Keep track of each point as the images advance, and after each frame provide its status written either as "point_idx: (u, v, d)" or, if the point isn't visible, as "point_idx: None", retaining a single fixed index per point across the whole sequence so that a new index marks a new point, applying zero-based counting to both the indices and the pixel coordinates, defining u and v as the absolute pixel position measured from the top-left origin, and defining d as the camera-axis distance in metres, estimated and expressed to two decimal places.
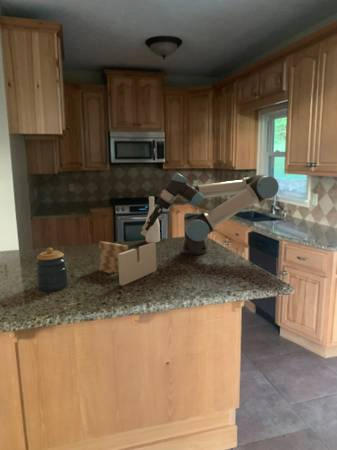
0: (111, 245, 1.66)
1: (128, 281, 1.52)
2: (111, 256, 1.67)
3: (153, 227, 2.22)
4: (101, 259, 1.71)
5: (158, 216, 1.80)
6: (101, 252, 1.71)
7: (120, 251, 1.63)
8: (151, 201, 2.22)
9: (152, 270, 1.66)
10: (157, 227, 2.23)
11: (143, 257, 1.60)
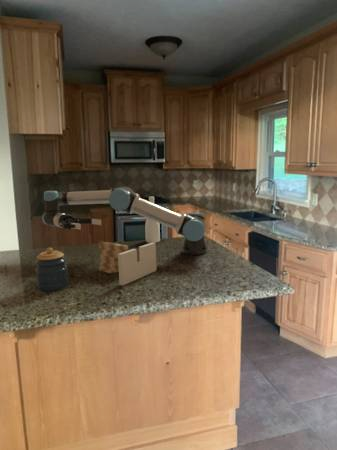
0: (111, 245, 1.66)
1: (128, 281, 1.52)
2: (111, 256, 1.67)
3: (153, 227, 2.22)
4: (101, 259, 1.71)
5: (69, 220, 1.77)
6: (101, 252, 1.71)
7: (120, 251, 1.63)
8: (151, 201, 2.22)
9: (152, 270, 1.66)
10: (157, 227, 2.23)
11: (143, 257, 1.60)
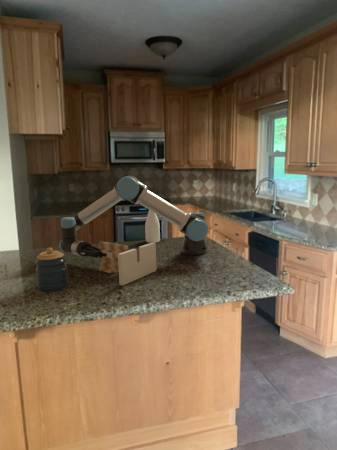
0: (111, 245, 1.65)
1: (128, 281, 1.52)
2: None
3: (153, 227, 2.22)
4: (101, 259, 1.71)
5: (92, 248, 1.73)
6: None
7: (120, 251, 1.63)
8: None
9: (152, 270, 1.66)
10: (157, 227, 2.23)
11: (143, 257, 1.60)
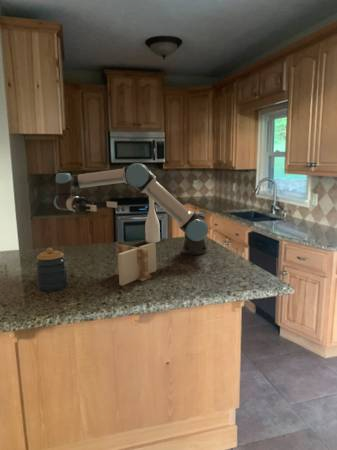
0: (129, 248, 1.59)
1: (128, 281, 1.52)
2: None
3: (153, 227, 2.22)
4: None
5: (83, 202, 1.68)
6: None
7: (139, 255, 1.56)
8: (151, 201, 2.22)
9: (152, 270, 1.66)
10: (157, 227, 2.23)
11: None
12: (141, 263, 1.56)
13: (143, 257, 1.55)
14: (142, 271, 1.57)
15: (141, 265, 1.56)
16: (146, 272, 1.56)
